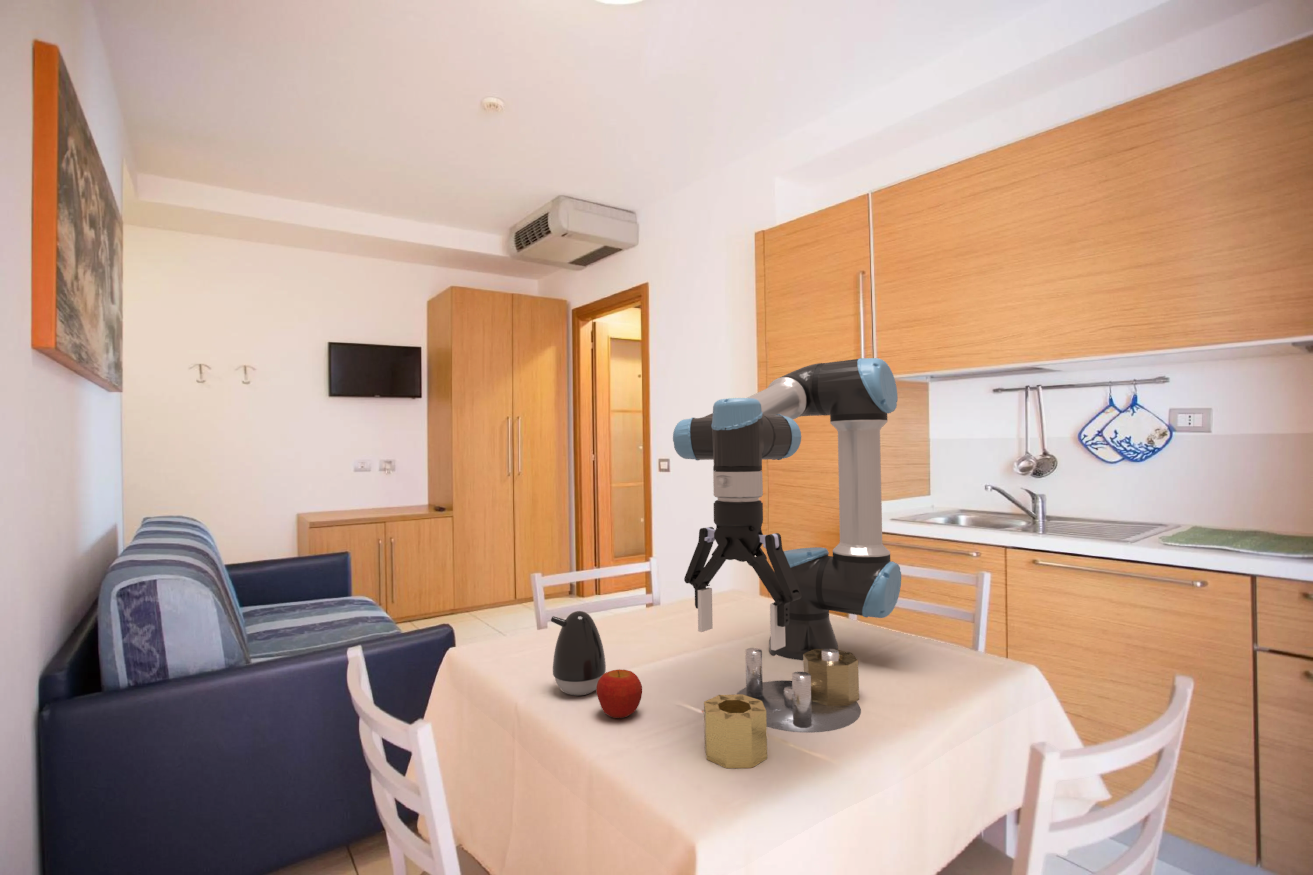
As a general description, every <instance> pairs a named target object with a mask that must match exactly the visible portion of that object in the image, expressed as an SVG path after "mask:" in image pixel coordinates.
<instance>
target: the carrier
mask: <svg viewBox="0 0 1313 875" xmlns="http://www.w3.org/2000/svg"><path fill="white" fill-rule="evenodd" d="M744 653H745V687H744V688H742V689H741V690H739V691H737V693H735V695H737V694H743V695H746V696H749V697H752V698H755V699H758V700H761V701H762V702H763V705H764V707H765V709H766V725H767V728H769V729H770V728H771V729H774V730H779V731H785V732H791V733H792V732H793V733H806V734H807V733H824V732H831V731H836V730H840V729H844V728H846V727H848V726H850V725H852V724H854V723H855V722H857V721H858V720H859V718H860V716H861V714H862V708H861V706H860V704H859V702H857V701H855V702H854V703H852V704H851V705H849V706H827V705H823V704H820V703H817V702H814V701H811V675H810V674H809V673H807V672H804V671H795V672H792V674H791V677H792V678H791V680H772V681H771V680H769V681H764V682H763V650H762V649H760V648H757V647H750V648H746V649H745V651H744ZM822 660H824V661H828V662H831V661H839V652H838V651H837V650H834V649H823V650H822Z"/></svg>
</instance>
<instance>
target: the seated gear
mask: <svg viewBox="0 0 1313 875" xmlns="http://www.w3.org/2000/svg"><path fill="white" fill-rule="evenodd" d="M822 650H823V649H813V650H811V651H809V652H806V653H804V654H803V660H802V661H803V664H802V665H803V666H802V667H803V672H807V673H809V674H810V675H811V701H814V702H817V703H820V704H823V705H827V706H849V705H851V704H852V703H854V702H855V701H856V702H857V701H859V700H860V686H859V685H860V684H859V682H860V681H859V676H860V675H859V659H858V658H857V657H856V656H855V655H854V654H853V653H852V652H848V651H844V650H840V649H838V650H837V651H838V652H839V661H831V662H828V661H824V660H822ZM834 650H836V649H834Z"/></svg>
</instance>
